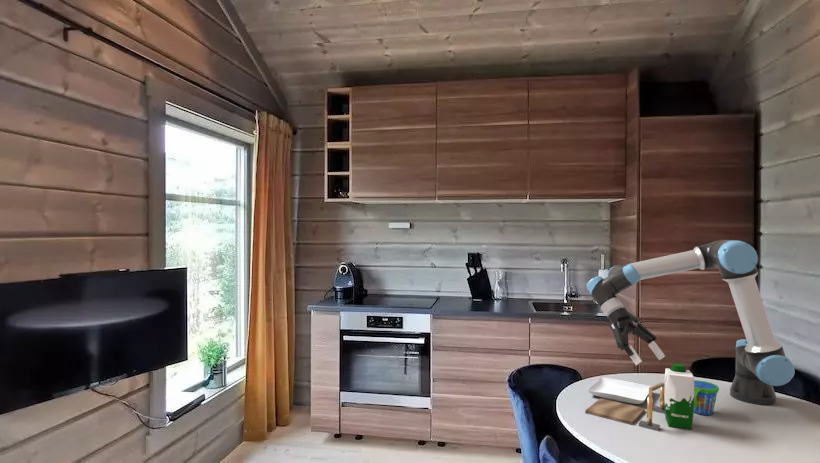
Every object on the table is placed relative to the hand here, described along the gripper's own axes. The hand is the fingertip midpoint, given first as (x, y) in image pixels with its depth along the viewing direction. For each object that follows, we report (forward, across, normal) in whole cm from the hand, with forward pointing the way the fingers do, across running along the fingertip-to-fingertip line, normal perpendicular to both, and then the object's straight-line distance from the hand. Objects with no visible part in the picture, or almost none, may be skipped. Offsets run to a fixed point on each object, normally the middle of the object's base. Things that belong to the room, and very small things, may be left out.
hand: (651, 360), depth 178 cm
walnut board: (+9, +10, -19) cm, 23 cm away
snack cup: (+20, -18, -8) cm, 28 cm away
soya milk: (+21, 0, -6) cm, 22 cm away
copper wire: (+16, +2, -11) cm, 20 cm away
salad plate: (+2, -8, -27) cm, 28 cm away
